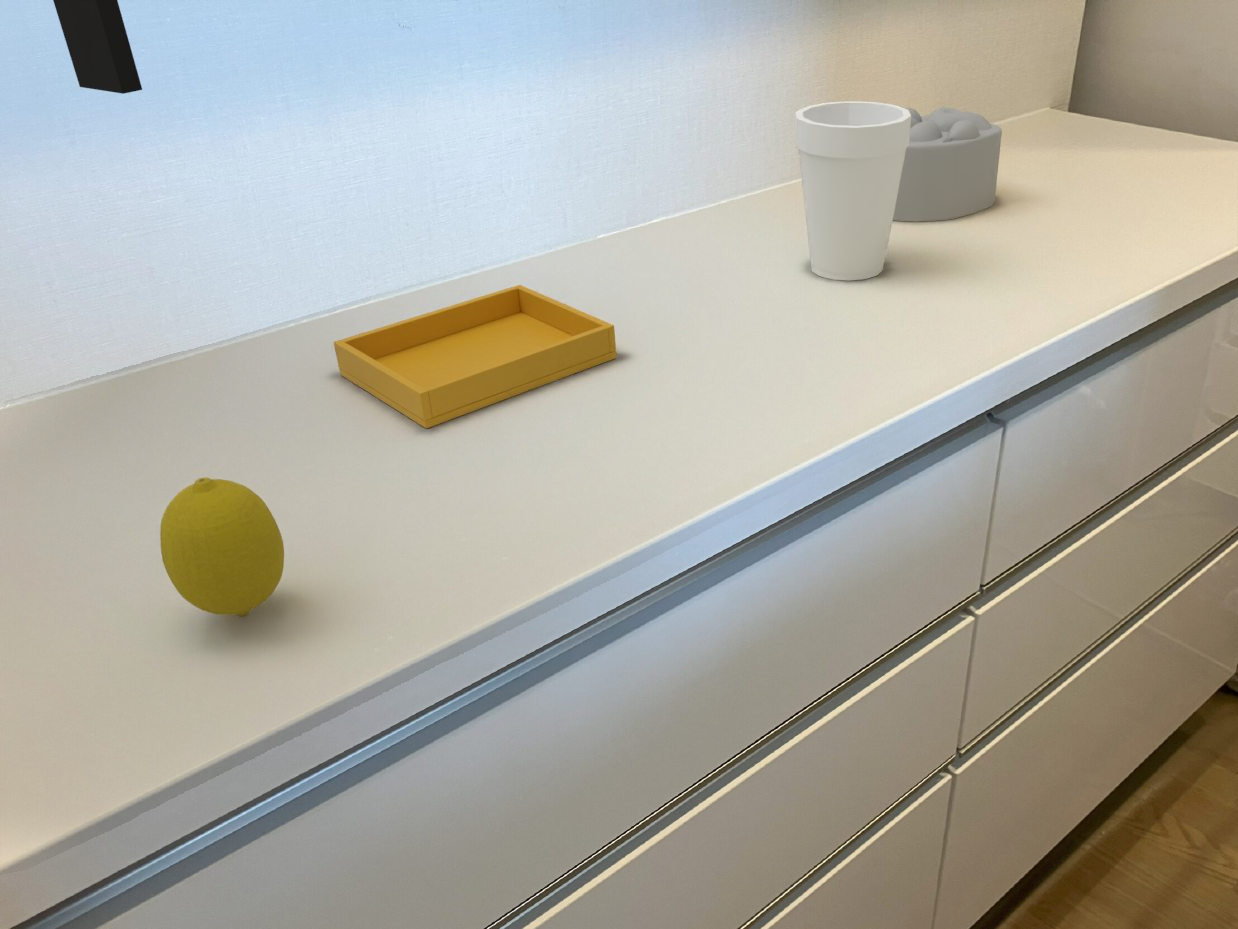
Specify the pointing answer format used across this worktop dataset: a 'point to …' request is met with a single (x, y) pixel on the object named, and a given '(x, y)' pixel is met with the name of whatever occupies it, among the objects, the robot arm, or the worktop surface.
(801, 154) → the foam cup
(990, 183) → the lumpy-topped squat cylinder
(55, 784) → the worktop surface
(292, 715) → the worktop surface
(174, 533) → the lemon
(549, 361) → the yellow tray
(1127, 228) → the worktop surface
